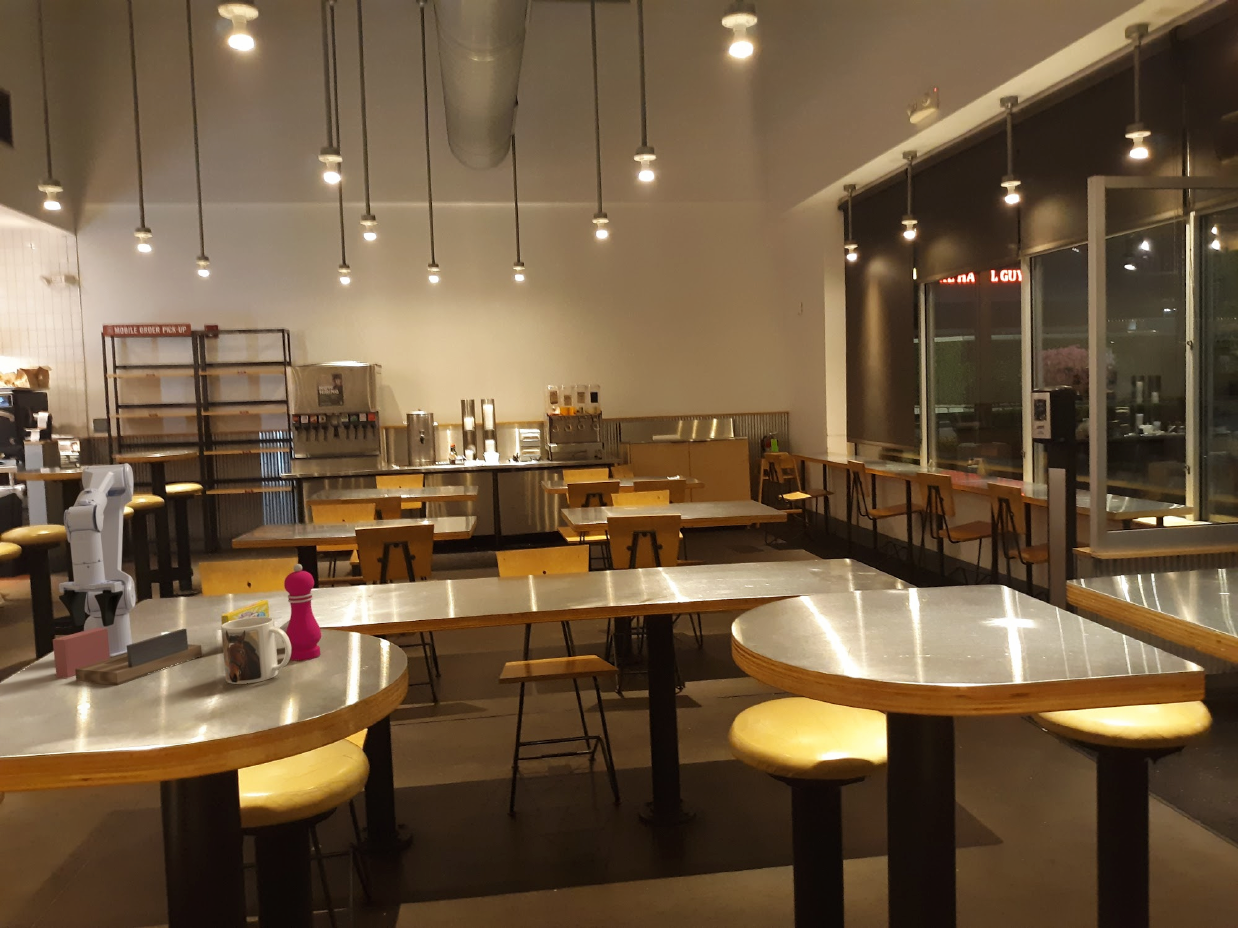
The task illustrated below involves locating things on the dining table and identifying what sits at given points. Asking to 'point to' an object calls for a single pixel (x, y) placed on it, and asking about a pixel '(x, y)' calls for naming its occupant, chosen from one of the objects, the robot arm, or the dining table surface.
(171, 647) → the dark gray flat bar
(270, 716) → the dining table surface
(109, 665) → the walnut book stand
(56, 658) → the pink rectangular block
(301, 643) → the pepper mill
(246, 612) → the candy box
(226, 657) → the mug
